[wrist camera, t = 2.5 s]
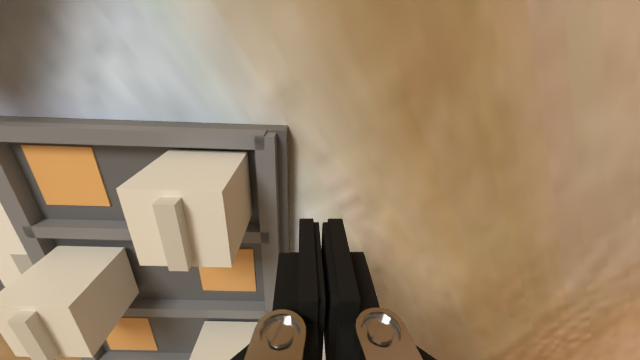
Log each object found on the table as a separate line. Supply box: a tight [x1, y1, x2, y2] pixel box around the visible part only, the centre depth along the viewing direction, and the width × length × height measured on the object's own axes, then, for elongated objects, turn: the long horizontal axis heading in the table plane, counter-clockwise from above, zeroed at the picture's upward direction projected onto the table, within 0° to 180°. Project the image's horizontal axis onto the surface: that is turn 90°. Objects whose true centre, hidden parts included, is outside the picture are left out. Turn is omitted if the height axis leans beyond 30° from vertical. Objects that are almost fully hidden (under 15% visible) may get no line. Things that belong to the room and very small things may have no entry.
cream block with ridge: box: [0, 246, 139, 360], centre depth 16 cm, size 4×4×5 cm
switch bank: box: [0, 116, 290, 360], centre depth 19 cm, size 20×19×2 cm
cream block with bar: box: [116, 149, 252, 271], centre depth 13 cm, size 4×4×5 cm
